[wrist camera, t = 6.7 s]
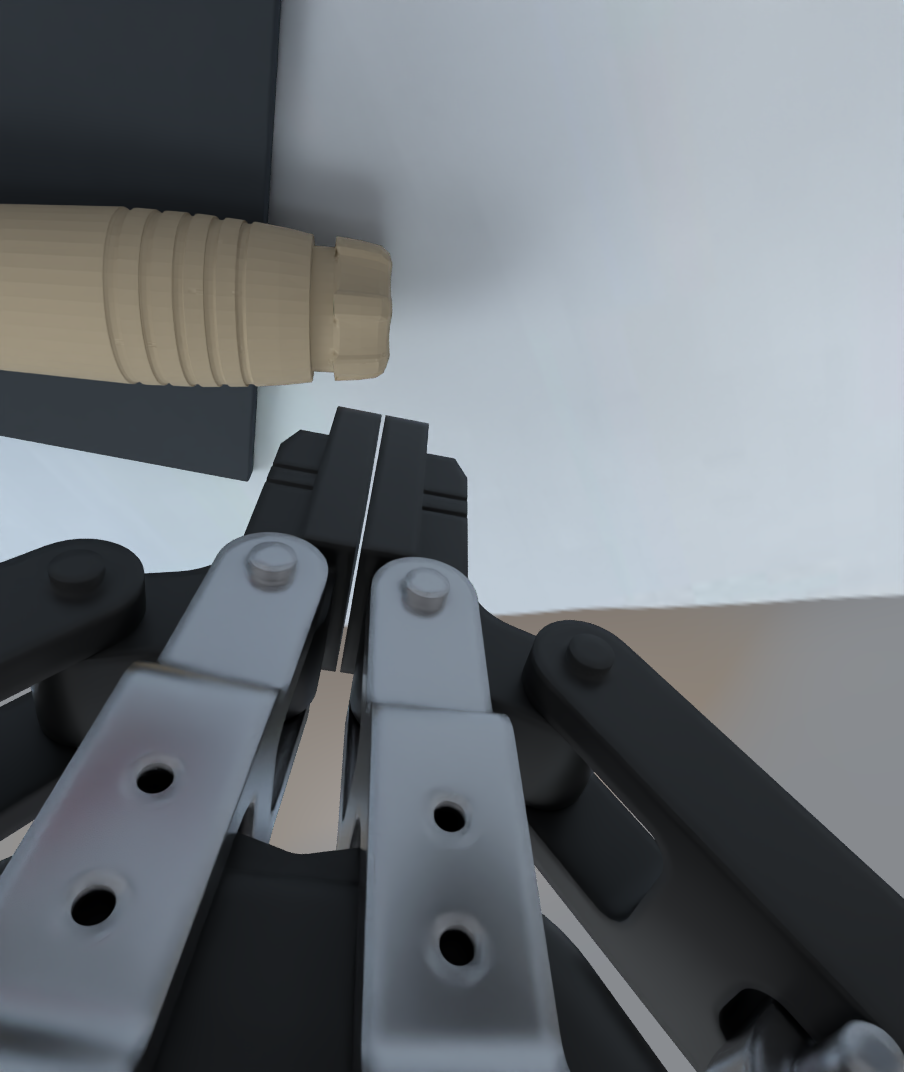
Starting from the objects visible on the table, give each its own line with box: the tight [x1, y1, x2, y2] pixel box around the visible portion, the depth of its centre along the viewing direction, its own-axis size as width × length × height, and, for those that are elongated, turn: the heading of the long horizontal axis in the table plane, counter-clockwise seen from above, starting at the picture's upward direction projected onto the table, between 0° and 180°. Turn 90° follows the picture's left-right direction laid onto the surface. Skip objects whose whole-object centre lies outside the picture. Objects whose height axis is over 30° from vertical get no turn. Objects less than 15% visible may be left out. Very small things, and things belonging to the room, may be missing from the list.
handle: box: [0, 204, 392, 387], centre depth 17 cm, size 5×6×15 cm
